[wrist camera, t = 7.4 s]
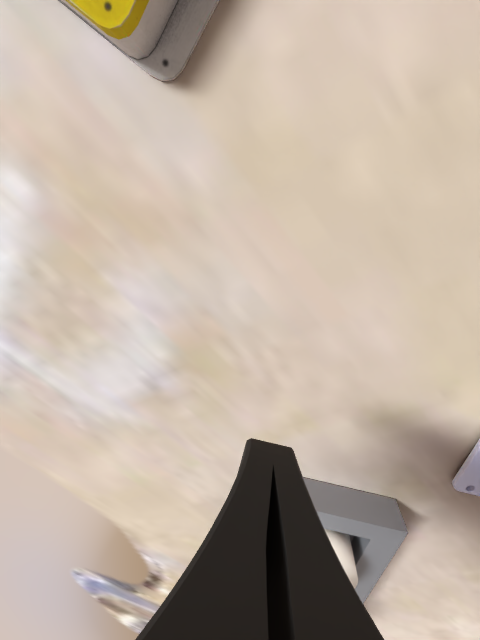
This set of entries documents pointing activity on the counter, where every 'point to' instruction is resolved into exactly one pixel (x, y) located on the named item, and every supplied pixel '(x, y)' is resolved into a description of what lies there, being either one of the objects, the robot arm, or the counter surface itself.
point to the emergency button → (149, 29)
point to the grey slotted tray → (361, 527)
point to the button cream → (344, 553)
